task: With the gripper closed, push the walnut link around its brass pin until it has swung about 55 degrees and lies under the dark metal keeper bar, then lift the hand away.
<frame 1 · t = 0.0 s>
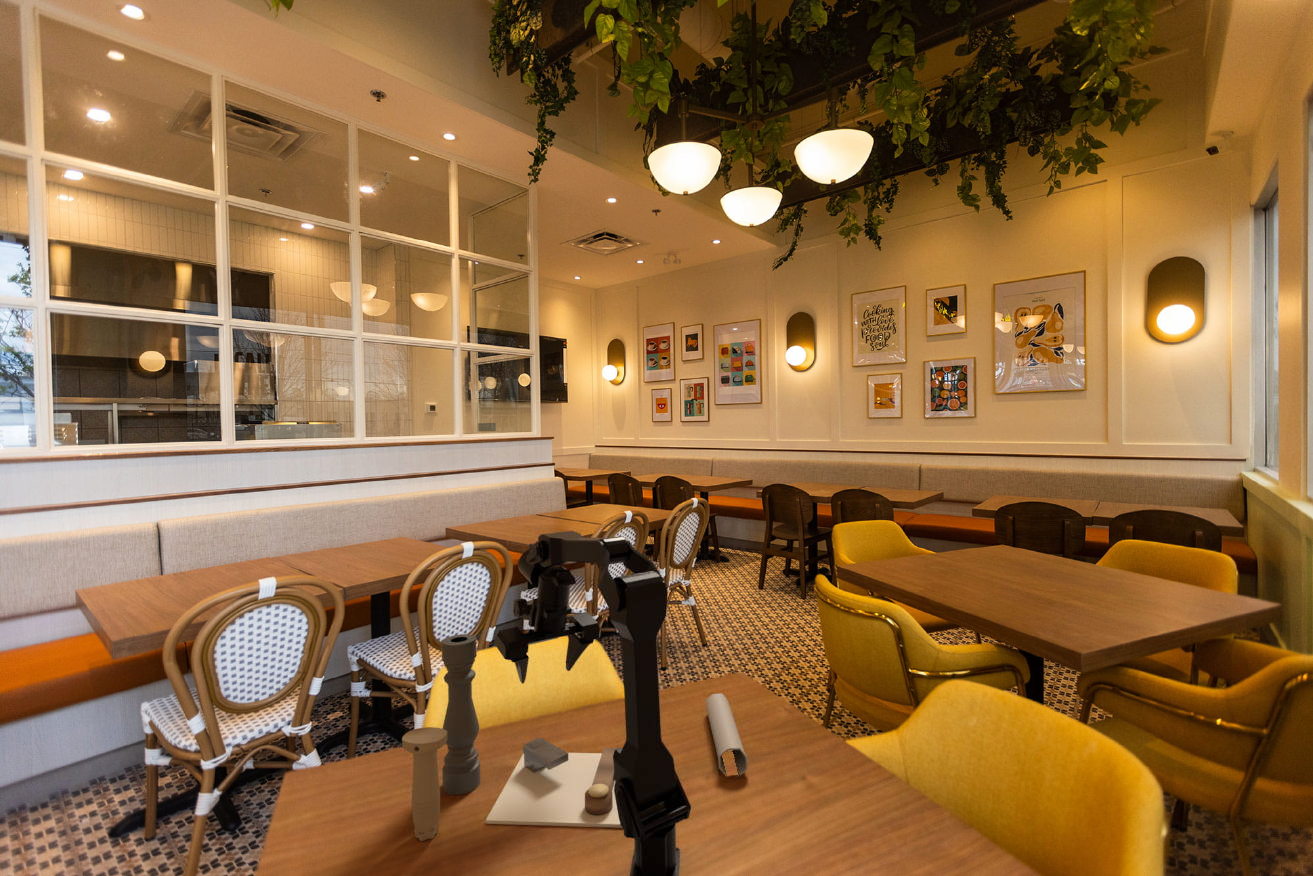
hand: (545, 675, 109), 15 cm above the table, tool pointing down, fingers open, 9 cm apart
pivot plate: (598, 810, 94), on the table
handle: (426, 836, 88), on the table
keeper: (544, 760, 104), point 2 cm above the table
tube: (723, 741, 115), on the table
candle holder: (461, 785, 101), on the table
link: (604, 779, 99), point 2 cm above the table, hinge at 0.0°
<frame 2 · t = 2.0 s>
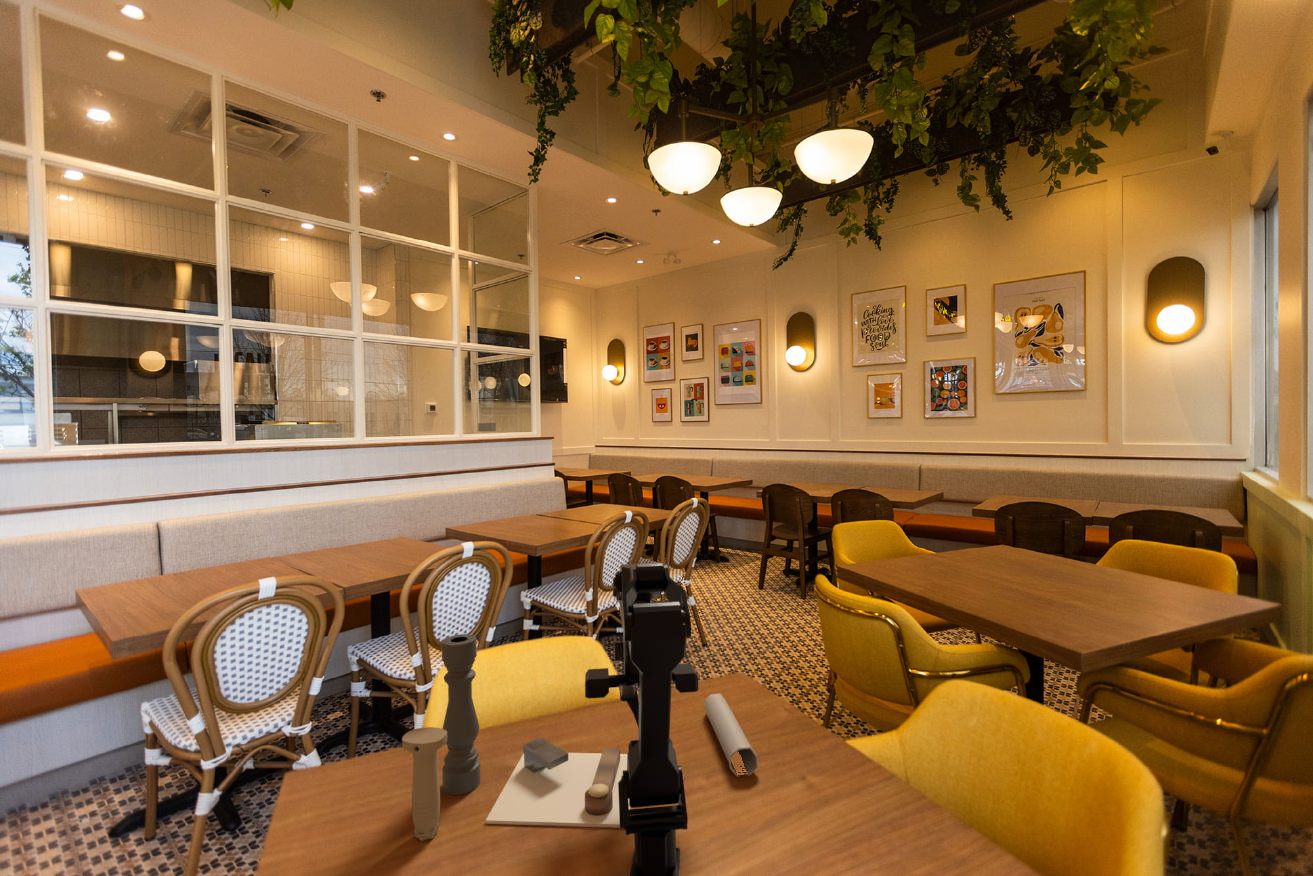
hand: (642, 731, 99), 10 cm above the table, tool pointing down, fingers closed
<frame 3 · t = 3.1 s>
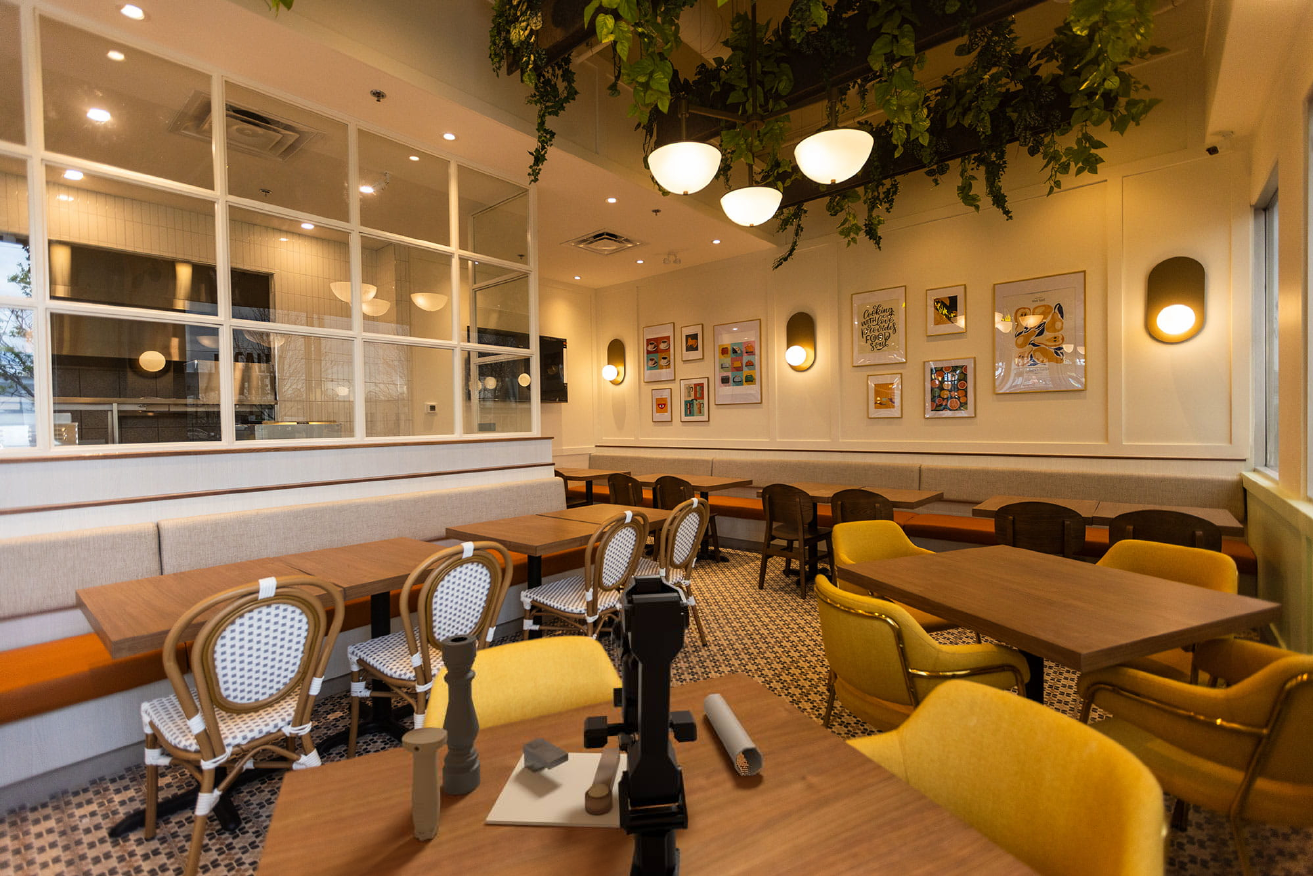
hand: (640, 779, 99), 2 cm above the table, tool pointing down, fingers closed
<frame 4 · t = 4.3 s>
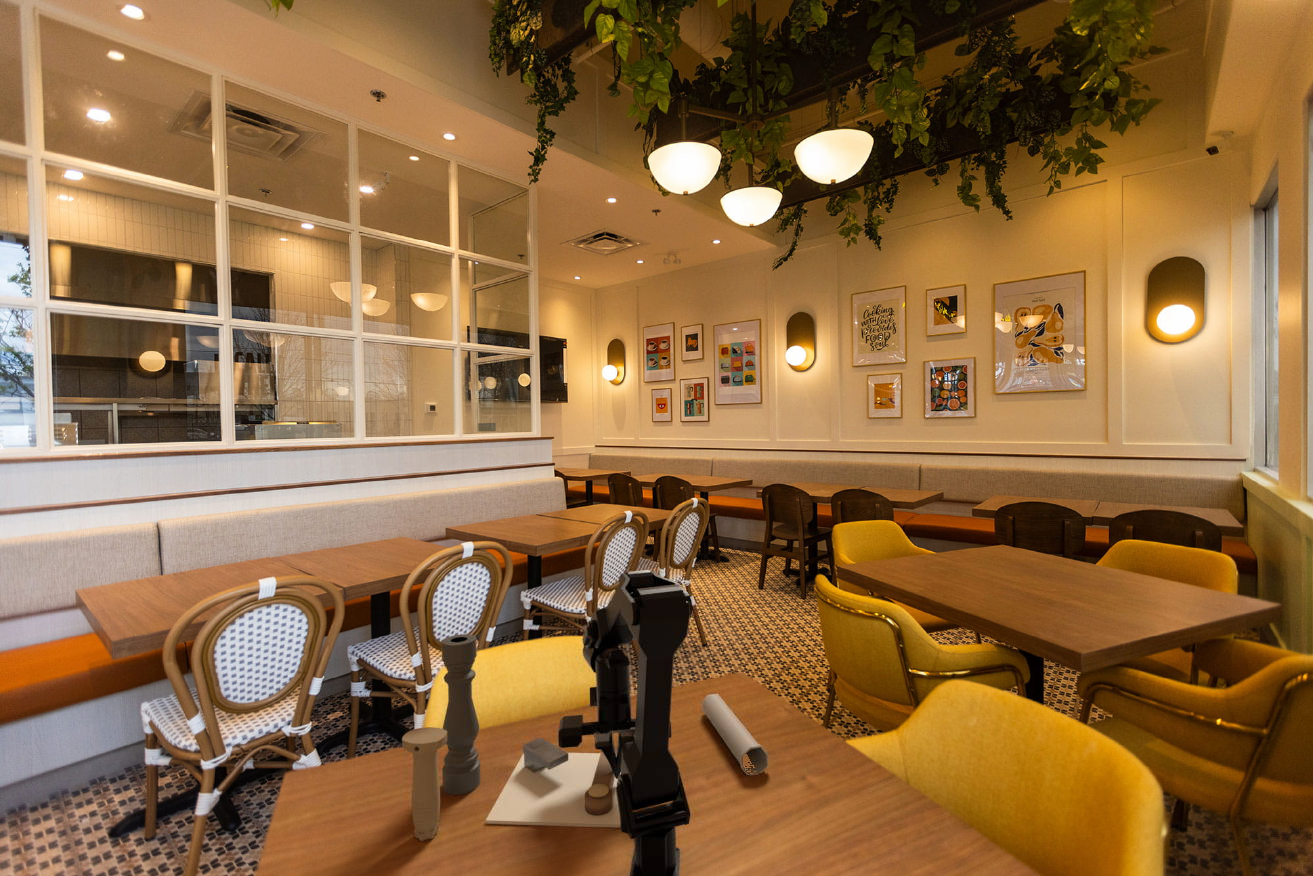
hand: (617, 777, 100), 2 cm above the table, tool pointing down, fingers closed
link: (604, 779, 99), point 2 cm above the table, hinge at 1.2°, touching gripper
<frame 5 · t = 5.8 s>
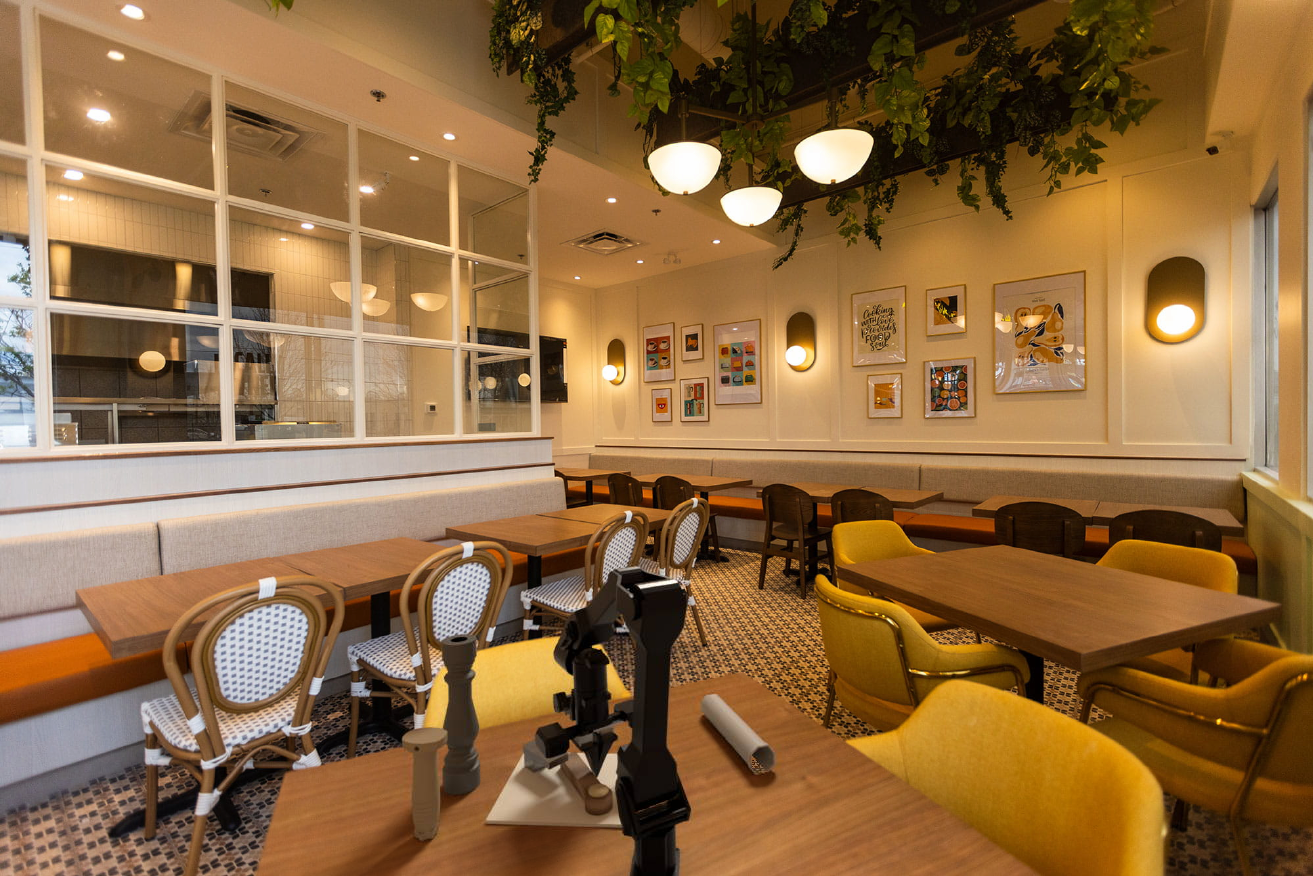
hand: (595, 776, 100), 2 cm above the table, tool pointing down, fingers closed
link: (584, 781, 99), point 2 cm above the table, hinge at 33.2°, touching gripper
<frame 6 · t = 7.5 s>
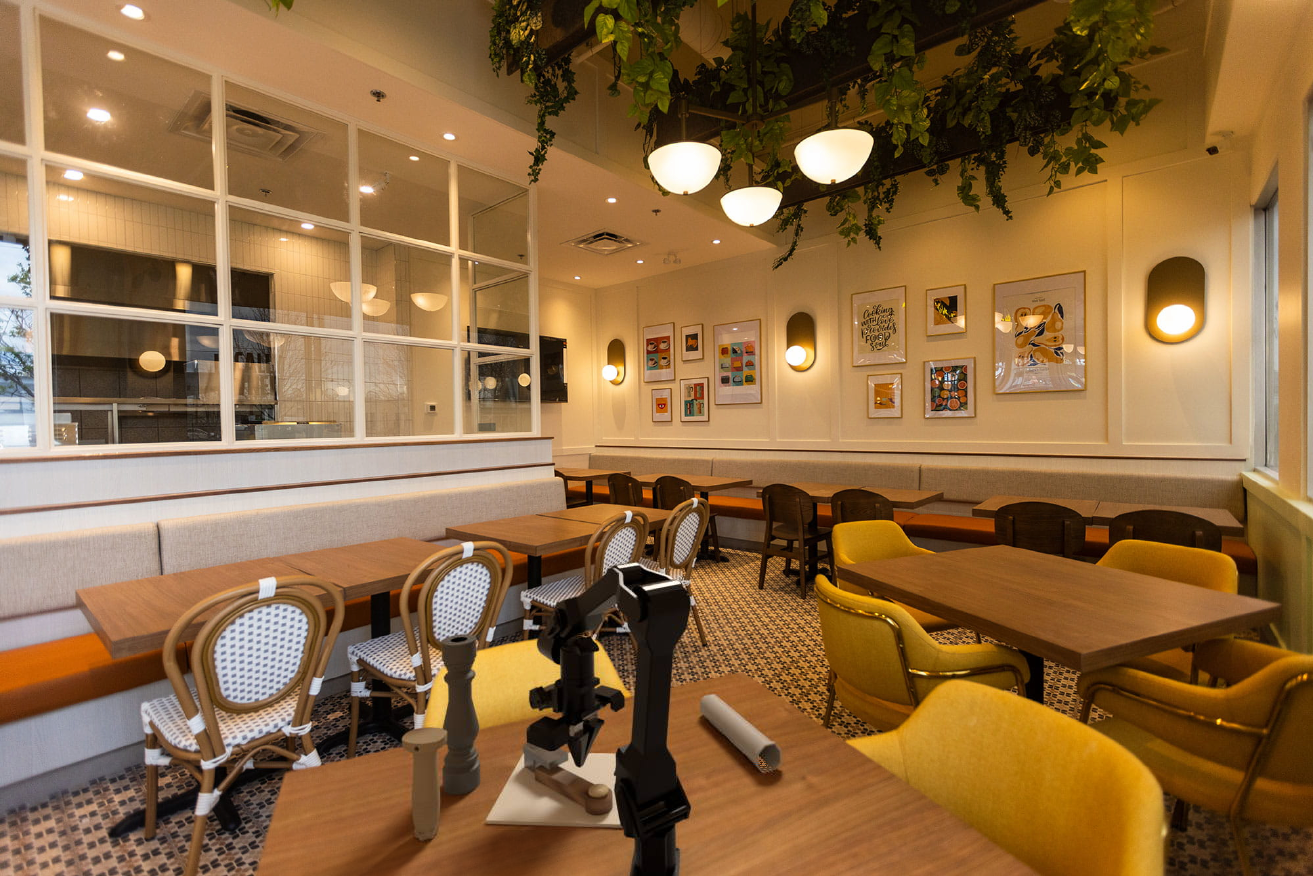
hand: (579, 766, 99), 4 cm above the table, tool pointing down, fingers closed
link: (573, 787, 97), point 2 cm above the table, hinge at 54.9°
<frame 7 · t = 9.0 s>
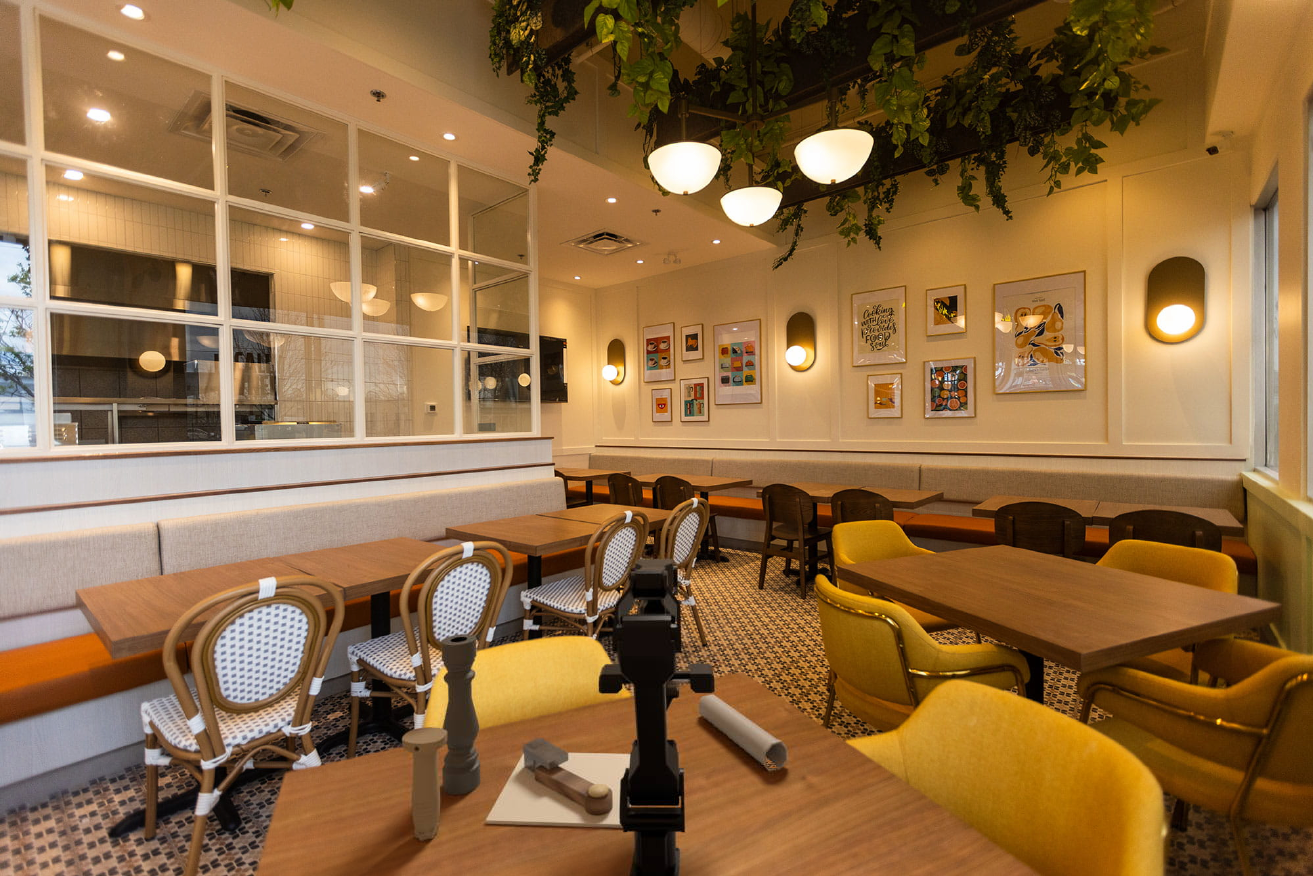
hand: (657, 730, 97), 11 cm above the table, tool pointing down, fingers closed
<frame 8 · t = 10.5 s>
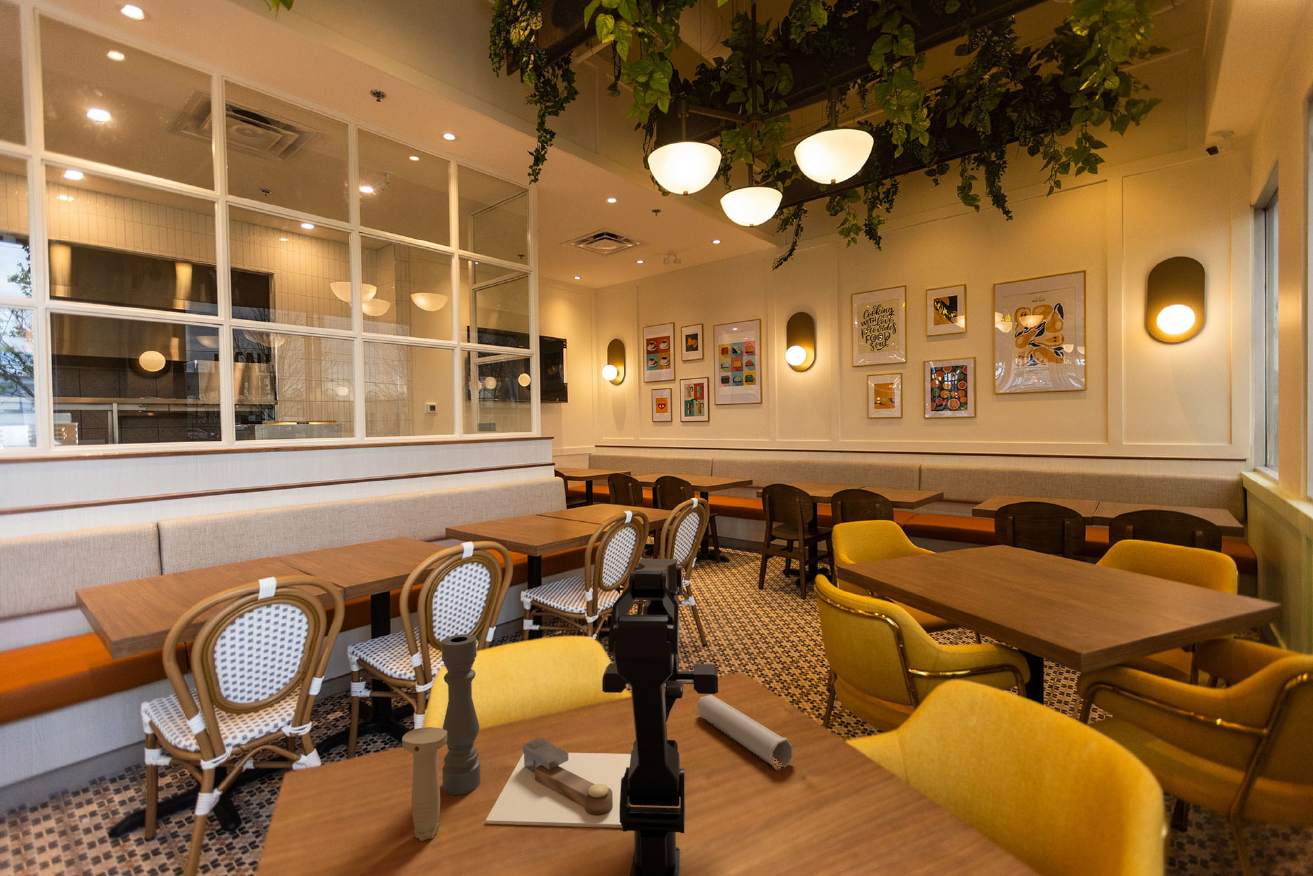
hand: (661, 729, 97), 11 cm above the table, tool pointing down, fingers closed
at the end: link at +55° (first picture: +0°) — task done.
